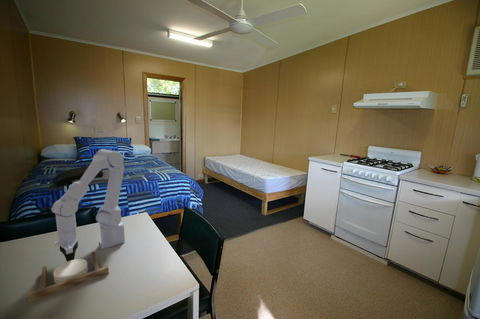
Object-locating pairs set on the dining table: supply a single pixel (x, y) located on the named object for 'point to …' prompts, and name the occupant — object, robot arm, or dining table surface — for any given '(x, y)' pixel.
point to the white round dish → (70, 270)
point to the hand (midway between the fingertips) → (70, 260)
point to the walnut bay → (66, 281)
